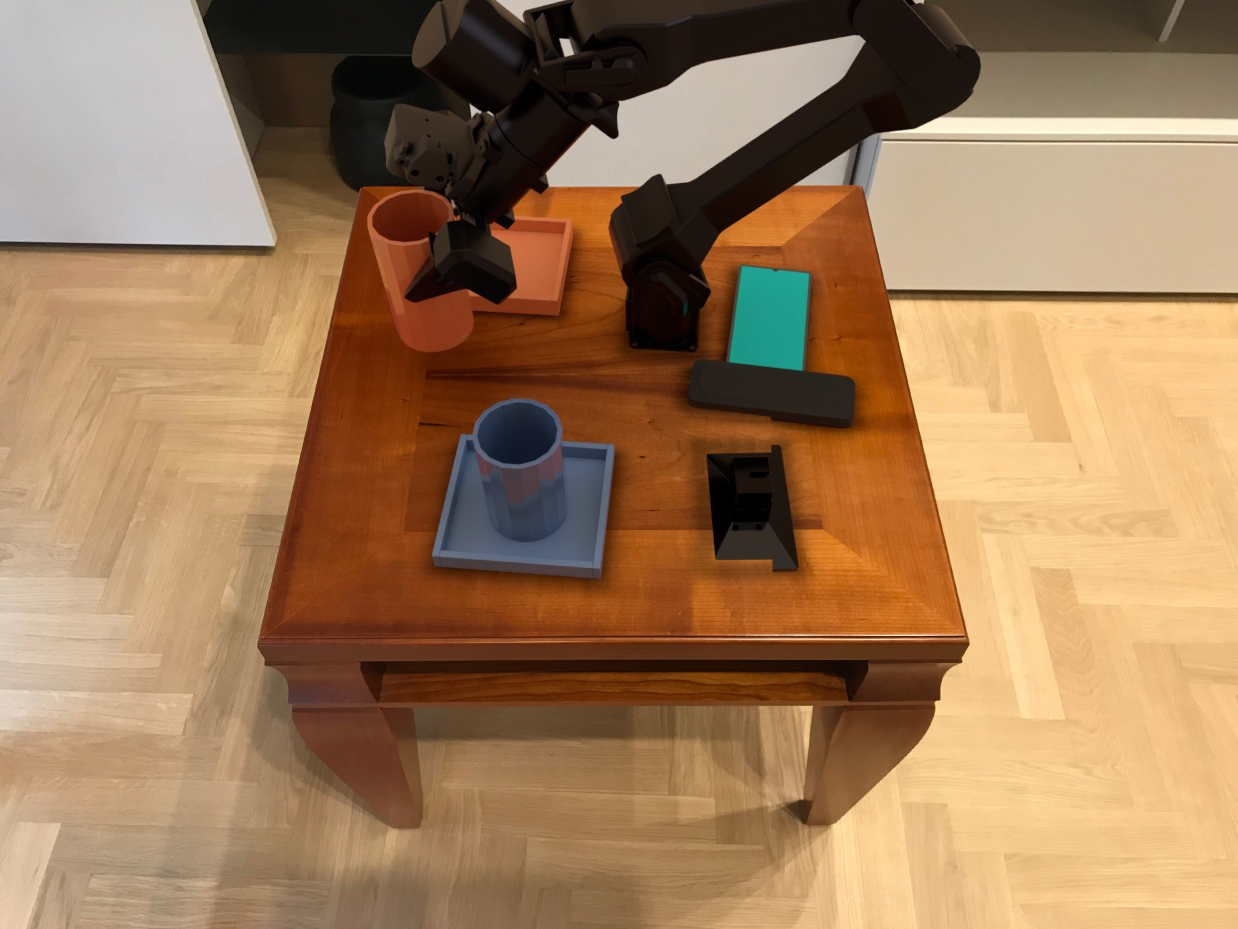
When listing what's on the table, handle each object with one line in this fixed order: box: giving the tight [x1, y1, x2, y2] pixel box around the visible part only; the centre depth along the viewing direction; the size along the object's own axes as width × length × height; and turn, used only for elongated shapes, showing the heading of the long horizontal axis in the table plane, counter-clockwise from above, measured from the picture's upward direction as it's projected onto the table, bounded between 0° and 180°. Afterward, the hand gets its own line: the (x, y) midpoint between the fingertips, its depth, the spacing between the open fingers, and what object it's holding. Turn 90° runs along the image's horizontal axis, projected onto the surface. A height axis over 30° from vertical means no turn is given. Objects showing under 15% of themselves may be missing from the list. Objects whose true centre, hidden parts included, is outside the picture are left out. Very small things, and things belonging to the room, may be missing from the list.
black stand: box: [705, 444, 800, 572], centre depth 77 cm, size 12×7×5 cm, turn 1°
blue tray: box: [431, 433, 616, 580], centre depth 77 cm, size 13×12×2 cm
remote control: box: [686, 358, 856, 428], centre depth 85 cm, size 5×2×15 cm
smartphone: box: [725, 264, 813, 371], centre depth 90 cm, size 7×1×15 cm
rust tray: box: [455, 215, 574, 317], centre depth 95 cm, size 13×12×2 cm
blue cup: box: [471, 397, 569, 542], centre depth 74 cm, size 7×7×10 cm
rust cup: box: [366, 188, 475, 353], centre depth 80 cm, size 7×7×12 cm
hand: (406, 269), depth 79 cm, fingers closed on rust cup, 7 cm apart
